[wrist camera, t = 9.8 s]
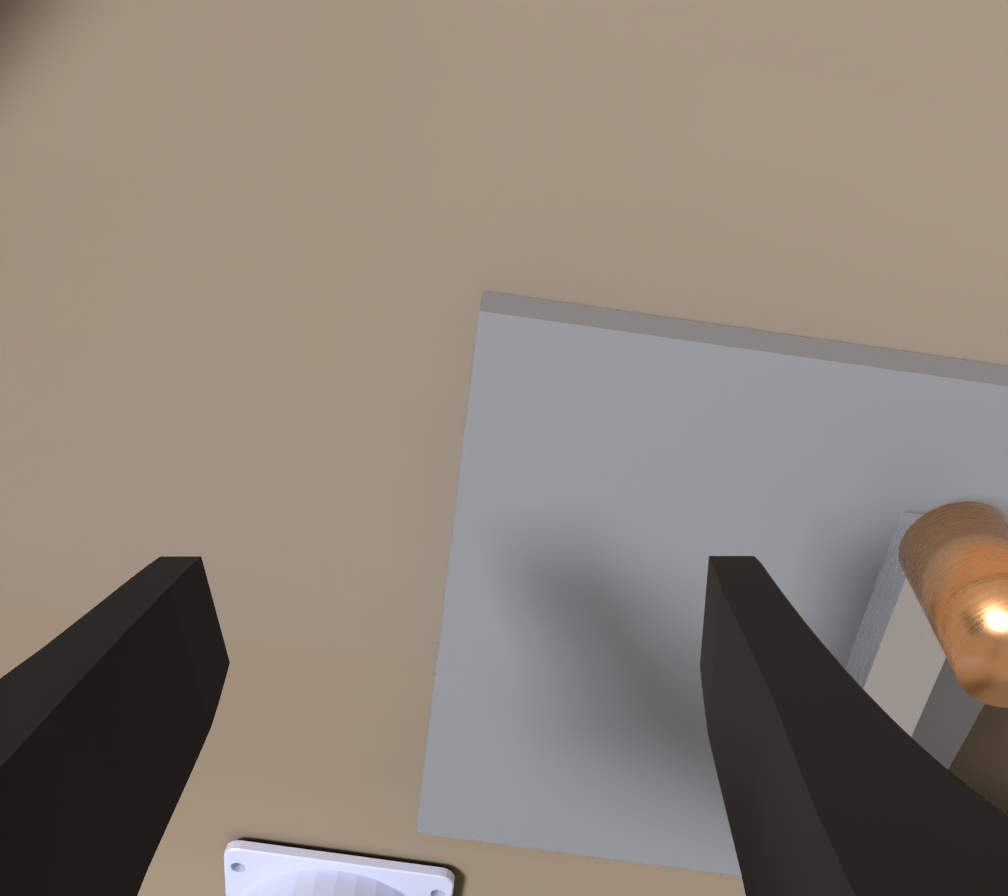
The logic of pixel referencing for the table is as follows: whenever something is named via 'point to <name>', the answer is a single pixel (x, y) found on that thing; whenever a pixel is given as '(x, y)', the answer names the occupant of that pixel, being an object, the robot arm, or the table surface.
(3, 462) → the table surface
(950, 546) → the lever
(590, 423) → the base
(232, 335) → the table surface
